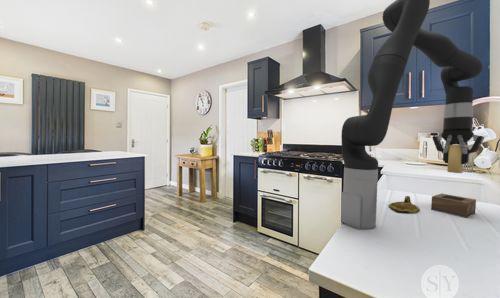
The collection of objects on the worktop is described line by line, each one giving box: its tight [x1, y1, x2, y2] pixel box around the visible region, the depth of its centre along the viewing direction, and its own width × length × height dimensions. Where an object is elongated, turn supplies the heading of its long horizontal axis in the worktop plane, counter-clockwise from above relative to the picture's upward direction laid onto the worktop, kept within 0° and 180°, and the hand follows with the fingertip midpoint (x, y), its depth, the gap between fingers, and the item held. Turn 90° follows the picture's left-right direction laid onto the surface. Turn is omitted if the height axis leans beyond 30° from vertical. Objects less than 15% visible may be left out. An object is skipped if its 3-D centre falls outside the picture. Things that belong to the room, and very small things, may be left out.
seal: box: [388, 195, 420, 215], centre depth 80 cm, size 9×5×15 cm
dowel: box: [446, 144, 464, 174], centre depth 77 cm, size 4×4×10 cm
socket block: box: [430, 193, 477, 219], centre depth 77 cm, size 10×10×5 cm
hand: (455, 163), depth 77 cm, fingers closed on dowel, 4 cm apart
